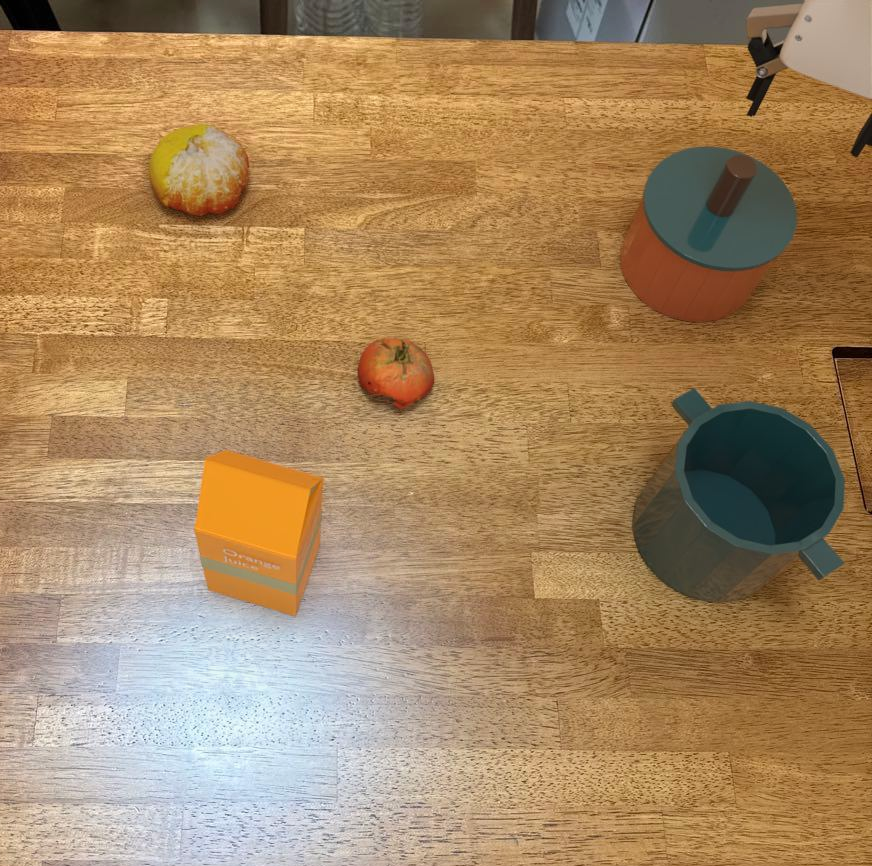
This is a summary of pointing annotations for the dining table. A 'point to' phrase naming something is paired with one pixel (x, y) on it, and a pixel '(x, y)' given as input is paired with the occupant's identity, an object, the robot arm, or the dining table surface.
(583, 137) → the dining table surface
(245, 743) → the dining table surface
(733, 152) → the lid
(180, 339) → the dining table surface
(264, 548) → the orange juice
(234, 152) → the fruit
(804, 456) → the pot
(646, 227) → the canister
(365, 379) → the tomato
